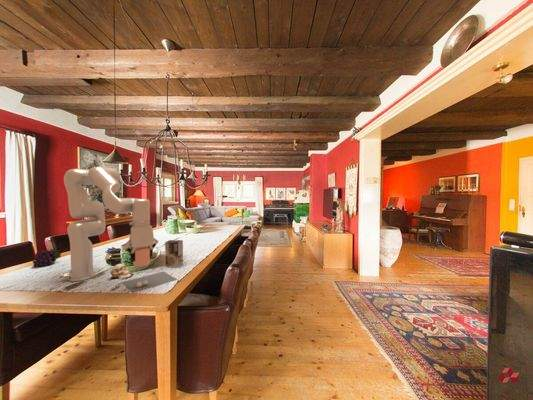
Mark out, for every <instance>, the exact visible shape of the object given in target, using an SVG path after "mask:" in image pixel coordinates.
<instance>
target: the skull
mask: <svg viewBox="0 0 533 400" xmlns="http://www.w3.org/2000/svg"><path fill="white" fill-rule="evenodd" d="M110 275H111V277H109V278H108V279H107V281H110V282H111V281H114V280H121V281H123V280H124V281H125V280H126V279H129V278H131V277H133V276H134V273H132V272H130V270H129V268H128V267H127V265H125V264H123V263H118V264H115V265H114V266H113V267H112V268H111V270H110Z"/></svg>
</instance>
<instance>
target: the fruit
mask: <svg viewBox="0 0 533 400" xmlns="http://www.w3.org/2000/svg"><path fill="white" fill-rule="evenodd" d="M40 251H41V252H39V253H38V256H36V257H34V260H33V261H32V264H33V267H34V268H41V267H42V266H43V267H44V266H48V265H51V266H52V265H53V264H54V263H55V262H56V261H57V259H58V260H59V258H61V256H62V253H61V252H58V251H57V249H56V250H55V249H50V250H47V249H46V250H44V249H42V250H40Z"/></svg>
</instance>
